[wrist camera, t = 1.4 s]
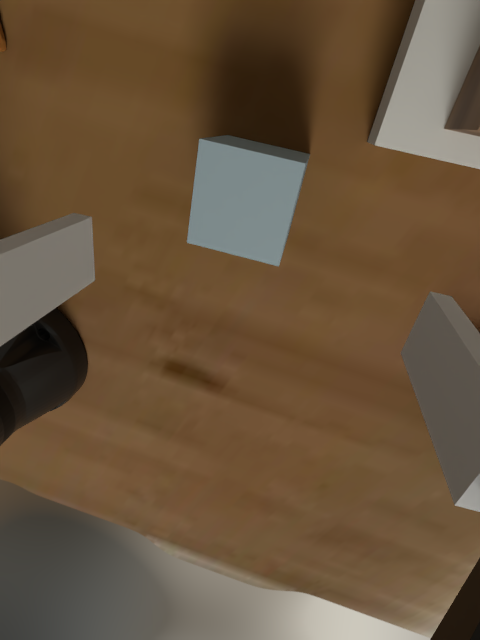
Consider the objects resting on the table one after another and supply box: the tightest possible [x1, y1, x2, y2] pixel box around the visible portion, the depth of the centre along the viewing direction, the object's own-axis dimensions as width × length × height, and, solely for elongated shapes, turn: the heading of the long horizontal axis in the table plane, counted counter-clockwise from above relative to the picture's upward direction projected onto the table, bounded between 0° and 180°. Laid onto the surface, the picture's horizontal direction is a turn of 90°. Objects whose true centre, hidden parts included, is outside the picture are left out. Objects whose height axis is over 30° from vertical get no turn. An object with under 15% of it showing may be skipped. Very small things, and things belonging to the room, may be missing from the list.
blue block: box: [187, 135, 310, 266], centre depth 24 cm, size 6×6×7 cm
